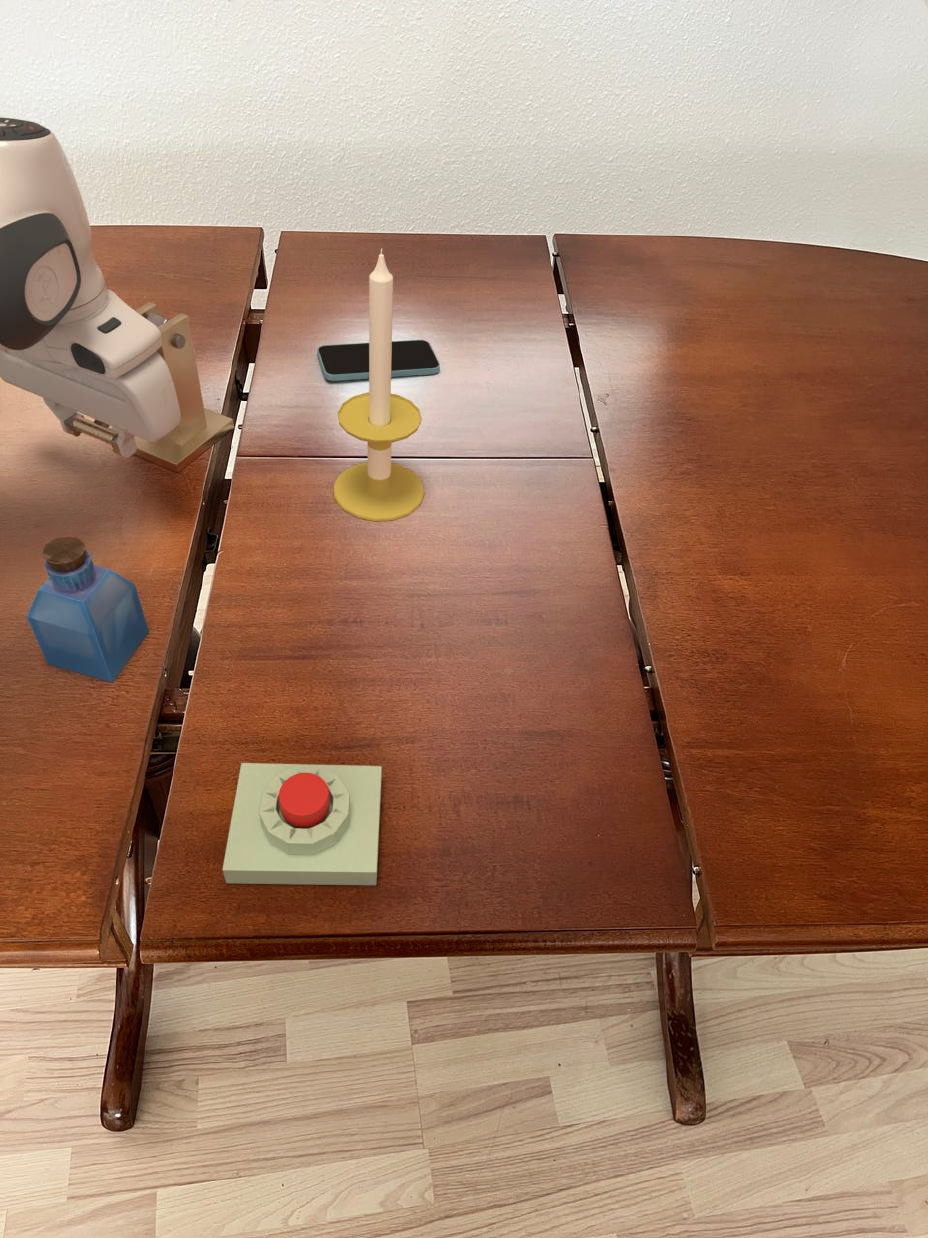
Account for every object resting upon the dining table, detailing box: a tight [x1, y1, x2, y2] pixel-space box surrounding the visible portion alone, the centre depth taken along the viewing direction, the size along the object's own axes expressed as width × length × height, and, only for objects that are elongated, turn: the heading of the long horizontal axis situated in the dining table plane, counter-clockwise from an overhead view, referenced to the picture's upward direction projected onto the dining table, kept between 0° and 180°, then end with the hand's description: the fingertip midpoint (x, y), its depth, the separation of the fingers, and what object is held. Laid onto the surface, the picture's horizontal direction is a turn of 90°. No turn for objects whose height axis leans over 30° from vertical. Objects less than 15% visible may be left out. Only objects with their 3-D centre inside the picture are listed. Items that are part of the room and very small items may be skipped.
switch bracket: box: [133, 301, 235, 474], centre depth 92 cm, size 10×8×15 cm
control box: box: [222, 762, 383, 886], centre depth 65 cm, size 11×9×4 cm
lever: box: [73, 313, 169, 446], centre depth 87 cm, size 14×5×2 cm, turn 152°
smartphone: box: [316, 339, 441, 382], centre depth 111 cm, size 7×1×15 cm
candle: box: [332, 247, 426, 522], centre depth 84 cm, size 10×10×27 cm
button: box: [279, 773, 330, 827], centre depth 63 cm, size 4×4×2 cm
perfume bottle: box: [26, 535, 150, 683], centre depth 72 cm, size 6×6×12 cm
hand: (101, 442), depth 87 cm, fingers closed on lever, 5 cm apart
